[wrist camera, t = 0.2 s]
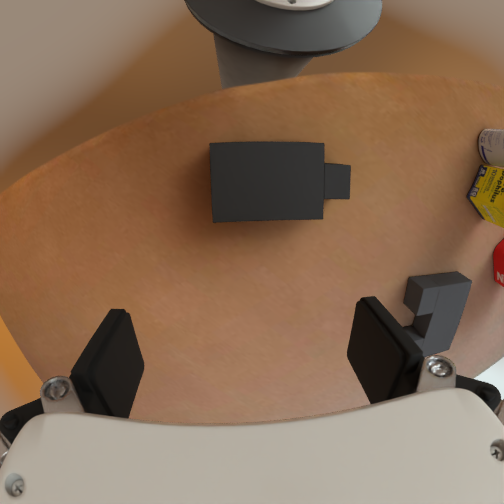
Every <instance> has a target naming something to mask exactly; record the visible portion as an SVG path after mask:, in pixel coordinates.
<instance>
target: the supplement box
mask: <svg viewBox="0 0 504 504" xmlns="http://www.w3.org/2000/svg"><path fill="white" fill-rule="evenodd" d="M467 198H468V200H469V201H470V202H471V203H472V205H473V206H474V208H475V209H476V210H477V212H478V213H479V215H480V216H481V217H482V219H484V220H486V221H489V222H491V223H493V224H496V225H498V226H500V227H502V228H504V169H500V168H495V167H489V166H484V165H481V166H480V168H479V172H478V174H477V177H476V179H475V181H474V183H473V186H472V188H471V189H470V191H469V193H468V195H467Z"/></svg>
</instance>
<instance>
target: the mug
mask: <svg viewBox="0 0 504 504" xmlns="http://www.w3.org/2000/svg"><path fill="white" fill-rule="evenodd" d="M493 261H494V279H495V282H497V283H499V284H500V285H502V286H503V287H504V239H503V240H502V241H501V242H500V243H499V244H498V245H497V246H496V248H495V250H494V254H493Z"/></svg>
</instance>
